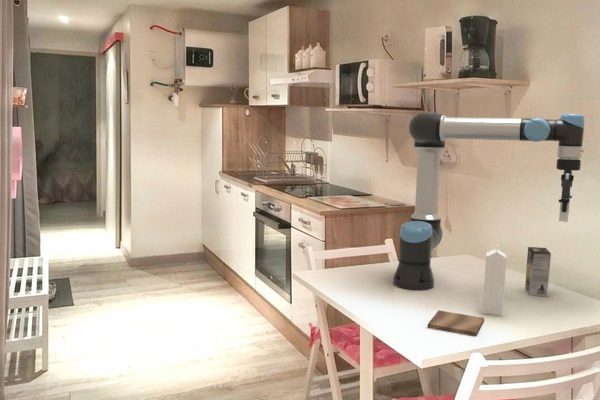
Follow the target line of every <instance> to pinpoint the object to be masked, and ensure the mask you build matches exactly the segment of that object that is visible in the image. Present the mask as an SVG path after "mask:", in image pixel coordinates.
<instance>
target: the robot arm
mask: <svg viewBox="0 0 600 400" xmlns="http://www.w3.org/2000/svg"><path fill="white" fill-rule="evenodd" d="M584 130H585V116H584V115H583V114H580V113H562V114H561V115H560V118H559V119H547V118H546V119H544V118H542V117H534V118H533V117H531V118H530V117H529V118H526V117H524V118H523V117H522V118H521V117H520V118H519V117H518V118H516V117H515V118H514V117H454V116H453V117H451V116H450V117H448V116H446V114H439V113H437V112H429V111H421V112H418V113H417V114H415V115H413V117H412V118H411V120H410V121H409V124H408V131H409V135H410V137H411V138H412V139H413V140H414V144H413V148H414V149H415V150H416V151H417V158H416V159H417V161H416V162H417V163H416V180H415V182H416V183H415V185H416V187H415V201H414V204H415V206H414V213H412V214H411V215H410V221H406V222H404V223H402V224H401V226H400V229H399V251H398V252H399V253H398V265H397V268H396V270H395V272H394V274H393V275H394V276H393V278H392V279H393V281H392V283H393V285H394V286H396V287H398V288H400V289H405V290H412V291H425V290H426V291H427V290H430V289H433V288H434V287H435V278H434V274H433V271H432V266H431V258H432V257H431V256H432V250H433V249H435V248H436V247H438V246H439V245H440V243H441V241H442V239H443V228H442V226H441V225H442V224H441V223H442V222H441V221H442V218H441V215H439V214H438V206H439V187H440V186H439V185H440V184H439V183H440V166H441V152H442V151H444V150H445V148H446V146H445V145H446V140H448V139H449V140H483V141H484V140H487V141H492V140H493V141H522V142H525V141H526V142H549V141H550V142H558V143H557V145H558V146H557V152H556V153H557V154H556V156H557V157H558V158H557V159H556V169H557V170H558V171H559V170H560V171H563V174H561V175H560V181H561V183H560V184H561V185H560V187H561V197H560V199H558V203H560V204H559V205H560V206H559V214H558V215H559V217H558V222H564V223H568V221H569V213H570V203H571V199H572V197H573V196H572V195H571V188H572V187H573V182H574V179H575V175H573V171H580V170H581V165H582V164H581V162H582V161H581V159H580V158H582V153H584V151H585V150H584V149H582V148H583V140H584V133H585V132H584Z"/></svg>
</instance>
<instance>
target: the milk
mask: <svg viewBox="0 0 600 400" xmlns="http://www.w3.org/2000/svg"><path fill="white" fill-rule="evenodd" d="M495 245H496V246H495V248H493V249H491V250H489V251H487V252H486V255H485V269H484V284H483V298H482V300H483V301H482V314H485V315H492V316H500V315H501V317H503V311H504V296H505V283H506V270H507V268H506V267H507V254H506V253H505V252H503V251H501V250H500V249H498V244H497V243H496V244H495Z"/></svg>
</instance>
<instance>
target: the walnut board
mask: <svg viewBox="0 0 600 400" xmlns="http://www.w3.org/2000/svg"><path fill="white" fill-rule="evenodd" d="M484 323H485V317H483V316H476V315H468V314H463V313H457V312H451V311H446V310H437V312H436V313H435V314H434V315H433V317H432V318H431V319H430V320H429V322H428V323H427V328H428V329H433V330H439V331H444V332H445V331H446V332H451V333H454V334H455V333H457V334H462V335H467V336H472V337H477V336H478V334H479V332H480V330H481V328H482V326H483V324H484Z"/></svg>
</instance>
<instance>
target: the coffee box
mask: <svg viewBox="0 0 600 400" xmlns="http://www.w3.org/2000/svg"><path fill="white" fill-rule="evenodd" d="M551 256H552V254H551V252H550V251H549V250H548V248H546V247H537V246H536V247H535V246H528V247H527V255H526V257H527V260H526V268H525V269H526V272H525V284H524V285H525V286H524V289H525V290H526V292H527V293H528V295H529V296H533V297H547V298H548V291H549V278H550V269H551V268H550V267H551V258H552V257H551Z"/></svg>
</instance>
